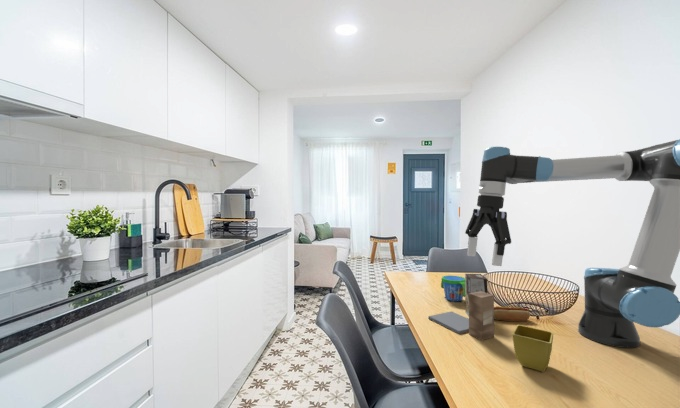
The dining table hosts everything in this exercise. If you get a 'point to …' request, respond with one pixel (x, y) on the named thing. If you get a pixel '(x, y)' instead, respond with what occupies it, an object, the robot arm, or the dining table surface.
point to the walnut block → (481, 315)
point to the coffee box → (474, 287)
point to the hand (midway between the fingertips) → (482, 260)
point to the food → (511, 313)
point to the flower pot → (532, 347)
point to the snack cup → (453, 287)
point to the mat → (452, 321)
